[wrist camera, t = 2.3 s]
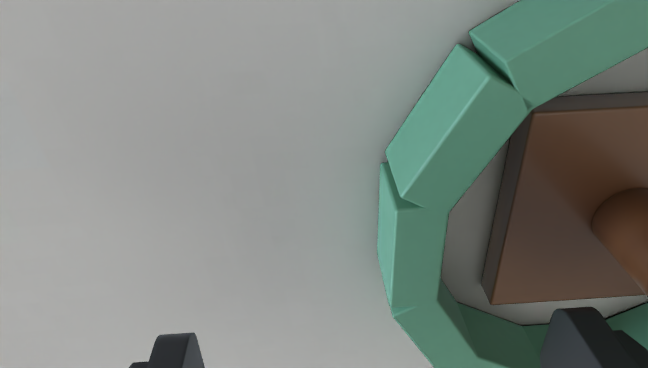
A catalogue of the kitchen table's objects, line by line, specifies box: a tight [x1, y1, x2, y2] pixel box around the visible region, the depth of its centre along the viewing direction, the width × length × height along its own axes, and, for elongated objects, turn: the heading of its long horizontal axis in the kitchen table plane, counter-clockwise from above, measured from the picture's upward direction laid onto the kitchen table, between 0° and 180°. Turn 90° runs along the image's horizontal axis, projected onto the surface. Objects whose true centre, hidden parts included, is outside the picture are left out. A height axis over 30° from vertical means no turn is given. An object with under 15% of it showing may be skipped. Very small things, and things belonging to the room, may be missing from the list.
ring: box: [377, 0, 648, 368], centre depth 14 cm, size 14×14×2 cm
